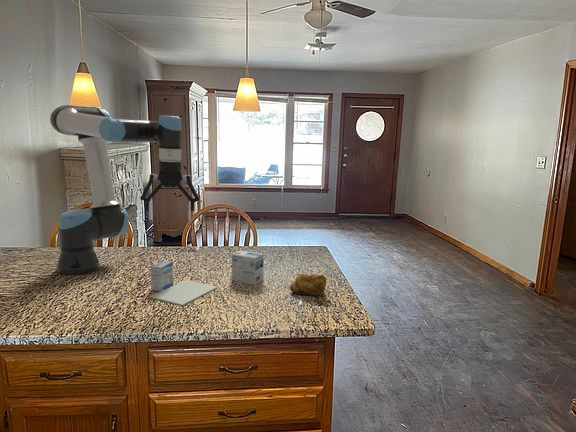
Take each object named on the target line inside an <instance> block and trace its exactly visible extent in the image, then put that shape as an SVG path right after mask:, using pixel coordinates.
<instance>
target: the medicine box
mask: <svg viewBox="0 0 576 432" xmlns="http://www.w3.org/2000/svg"><path fill="white" fill-rule="evenodd" d="M150 282H151V283H150V285H151V286H150V287H151V291H156V292H160V291H162V290H165V289H167V288H169V287H172V286H173V285H174V263H173V261H170V260H169V261H167V260H162V261H160V262H158V263H156V264H154V265H153V266H151V267H150Z"/></svg>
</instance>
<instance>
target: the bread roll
mask: <svg viewBox="0 0 576 432" xmlns="http://www.w3.org/2000/svg"><path fill="white" fill-rule="evenodd" d="M326 286H327V278H326V276H325V275H323V274H317V273H316V274H315V273H312V274H305V273H299V274H298V275H297V276H296V277H295V281H293V282H292V283H291V284H290V285H289V289H290V291H291V292H292V293H293V294H296V295H297V294H298V295H306V296H309V297H316V296H322V295H323V294H324V292H325V291H326Z"/></svg>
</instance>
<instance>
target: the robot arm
mask: <svg viewBox="0 0 576 432" xmlns="http://www.w3.org/2000/svg"><path fill="white" fill-rule="evenodd" d="M181 119H182V118H181V117H180V116H177V115H176V116H175V115H160V116H158V121H157V120H145V119H144V120H142V119H125V118H117V117H112V116H111V115H110V113H109V112H108V111H107V110H106V109H104V108H100V107H96V106H79V105H69V104H67V105H61V106H60V105H59V106H58V107H56V108H54V110H52V112H51V114H50V116H49V120H50V121H49V122H50V125H51V126H52V128H53V129H54V130H55V131H56V132H57V133H59V134H62V135H65V136H77V139H78V142H79V143H80V144H82V145H83V149H84V155H85V162H86V168H87V172H88V173H87V174H88V179H89V185H90V190H91V197H92V205H91V206H90V207H89V208H78V209H71V210H67V211H65V212H63V213H61V214H60V215H59V217H58V226H57V227H58V234H59V246H60V247H59V248H60V252H59V256H58V260H57V262H56V263H57V264H56V272H57V273H58V274H61V275H83V274H88V273H92V272H95V271H97V270H98V269H99V268H100V261H99V259H98V256H97V254H96V251H95V249H94V241H98V240H102V239H108V238H116V237H118V236H121V235H124V234H125V233H126V231H127V229H128V228H129V224H130V223H129V222H130V217H129V213H128V212H127V210H126V209H125V208H124V207H122V206H121V203H120V202H119V201H117V200H116V195H115V190H114V189H115V188H114V182H113V177H112V171H111V166H110V164H111V163H110V159H109V154H108V153H109V152H108V149H107V148H108V147H107V143H108V142H111V143H112V142H113V143H118V142H120V143H121V142H123V143H124V142H125V143H127V142H128V143H130V142H132V143H158V158H159V159H158V160H160V161H158V172H159V173H158V174H156V173H155V174H154V173H151V174H150V175H149V177H148V182H147V184H146V186H145V188H144V189H143V191H142V194H141V195H140V196H139V197H140V200H141V201H144V202H145V210H146V211H148V220H149V221H152V220H153V200H151V199H153V197H154V196H155V195H156V194H157V193H158V192H159V191H160V190H161V188H162V187H165V188H174V189H175V188H176V187H177V188H178V189H179V190H180V192H182V194H184V196H185V197H186V198H187V199H188V200H189V201H188V212H187V213H188V216H187V217H188V219H187V221H189V222H191V220H192V212H194V211H195V203H196V202H199V201H200V196H199V194H198V192H197V190H196V189H195V186H194V184H193V183H192V179H191V175H190V174H186V175H182V162H181V160H182V130H183V128H182V120H181ZM156 180H159V182H160V183H159V184H158V185H157V186H156V187H155V188H154V190H153V191H152V192H151V193H150V194H149V193H148V192H149V190H150V189H151V187H152V185H153V183H154V181H156ZM183 180H184V182H186V183H187V185H188V187H189V189H190V191H191V194H192V195H191V194H190V192H189V191H188V190H187V189H186V188H185V187H184V186H183V184H182V183H181V181H183ZM147 194H149V195H148V196H147Z"/></svg>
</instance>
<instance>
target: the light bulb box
mask: <svg viewBox="0 0 576 432" xmlns="http://www.w3.org/2000/svg"><path fill="white" fill-rule="evenodd" d="M264 259H265V256H264V253H259V252H251V251H246V250H238V251H236V252H233V253H231V281H233V282H238V283H242V284H247V285H252V286H257V285H258V284H260V283H261V282H263V281H264V269H265V268H264V263H265V262H264Z"/></svg>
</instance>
